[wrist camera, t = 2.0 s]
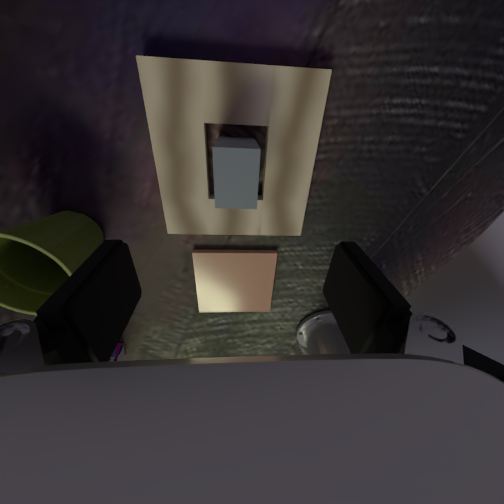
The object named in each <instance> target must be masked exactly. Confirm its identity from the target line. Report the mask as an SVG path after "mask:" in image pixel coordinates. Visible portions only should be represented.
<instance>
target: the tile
mask: <svg viewBox="0 0 504 504" xmlns="http://www.w3.org/2000/svg"><path fill="white" fill-rule="evenodd" d="M192 255H193V263H194V271H195V280H196V288H197V297H198V305H199V312H258V311H270V306H271V299H272V291H273V283H274V276H275V268H276V261H277V250H193V252H192Z"/></svg>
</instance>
